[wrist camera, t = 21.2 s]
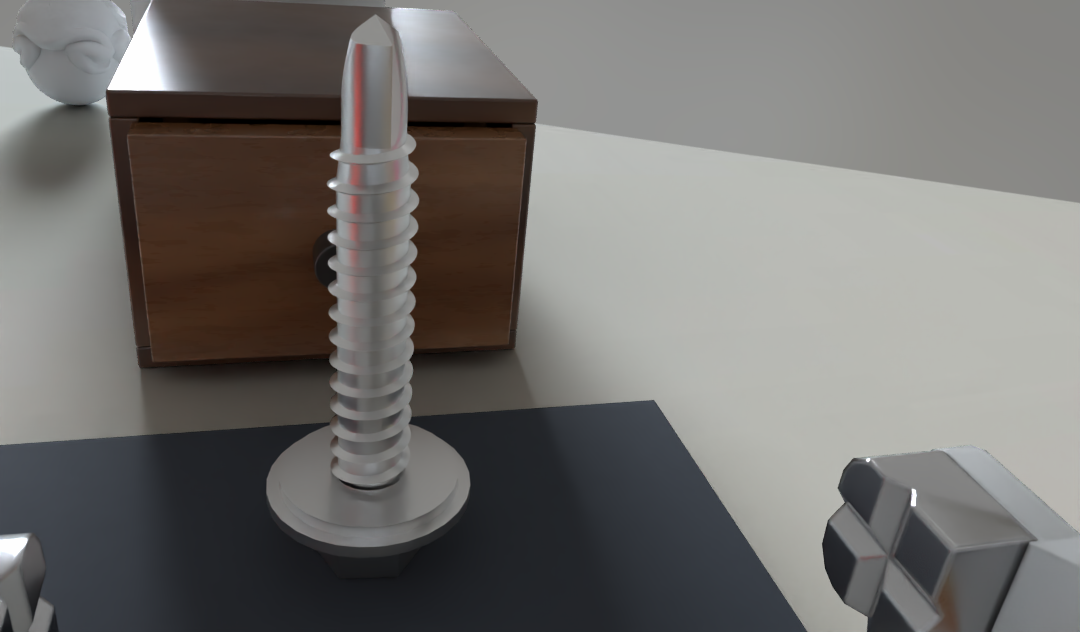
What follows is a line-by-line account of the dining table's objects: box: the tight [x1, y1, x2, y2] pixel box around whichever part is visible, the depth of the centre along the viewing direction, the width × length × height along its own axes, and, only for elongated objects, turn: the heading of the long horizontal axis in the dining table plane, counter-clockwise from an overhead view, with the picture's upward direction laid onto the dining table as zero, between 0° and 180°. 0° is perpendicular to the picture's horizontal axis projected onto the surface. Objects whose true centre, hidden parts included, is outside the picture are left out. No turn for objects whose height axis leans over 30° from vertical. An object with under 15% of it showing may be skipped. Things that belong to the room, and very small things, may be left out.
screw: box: [266, 14, 470, 579], centre depth 21 cm, size 13×5×5 cm
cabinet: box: [105, 0, 538, 368], centre depth 36 cm, size 15×13×9 cm
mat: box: [0, 400, 807, 632], centre depth 24 cm, size 20×11×1 cm, turn 105°
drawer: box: [127, 118, 527, 362], centre depth 34 cm, size 15×11×7 cm
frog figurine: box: [12, 0, 131, 105], centre depth 53 cm, size 6×7×7 cm
